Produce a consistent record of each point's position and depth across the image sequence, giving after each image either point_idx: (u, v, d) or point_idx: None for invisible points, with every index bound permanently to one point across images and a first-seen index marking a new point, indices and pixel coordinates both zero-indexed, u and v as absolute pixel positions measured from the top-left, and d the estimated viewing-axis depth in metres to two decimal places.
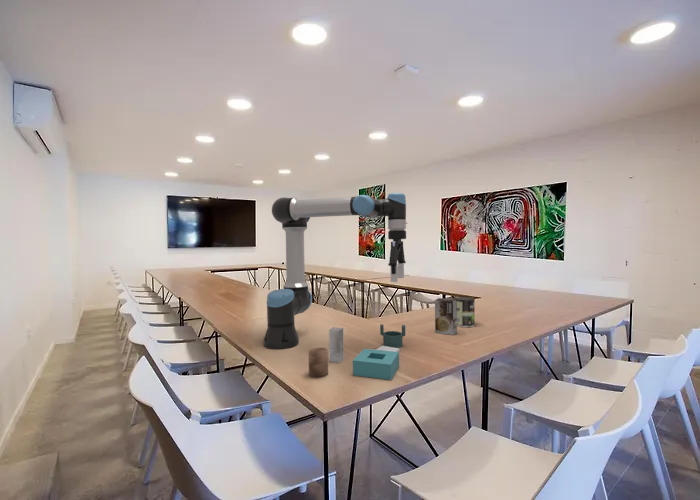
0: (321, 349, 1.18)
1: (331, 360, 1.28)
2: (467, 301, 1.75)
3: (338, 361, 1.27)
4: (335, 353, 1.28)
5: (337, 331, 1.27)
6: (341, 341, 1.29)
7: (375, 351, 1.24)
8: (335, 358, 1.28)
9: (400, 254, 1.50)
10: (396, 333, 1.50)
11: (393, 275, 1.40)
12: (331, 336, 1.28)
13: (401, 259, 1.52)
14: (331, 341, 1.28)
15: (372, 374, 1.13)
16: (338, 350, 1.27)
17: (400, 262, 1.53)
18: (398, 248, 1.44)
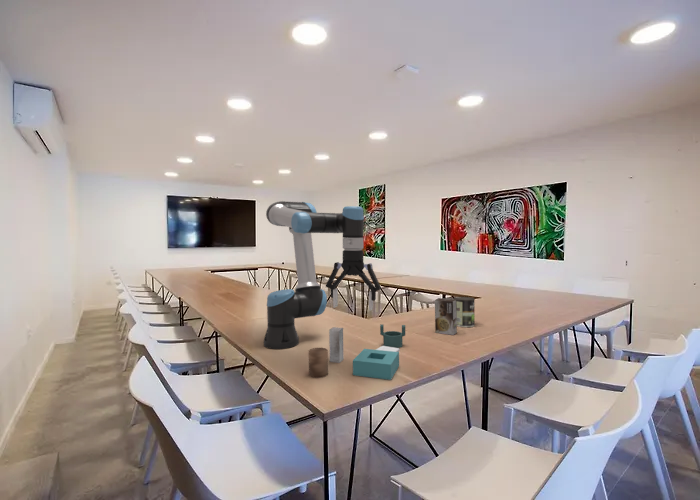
0: (321, 349, 1.18)
1: (331, 360, 1.28)
2: (467, 301, 1.75)
3: (338, 361, 1.27)
4: (335, 353, 1.28)
5: (337, 331, 1.27)
6: (341, 341, 1.29)
7: (375, 351, 1.24)
8: (335, 358, 1.28)
9: None
10: (396, 333, 1.50)
11: None
12: (331, 336, 1.28)
13: None
14: (331, 341, 1.28)
15: (372, 374, 1.13)
16: (338, 350, 1.27)
17: None
18: None
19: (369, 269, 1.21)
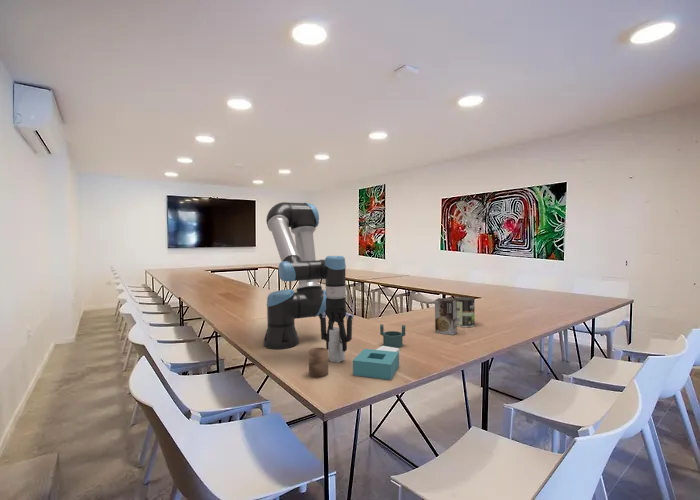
0: (321, 349, 1.18)
1: (331, 360, 1.28)
2: (467, 301, 1.75)
3: (338, 361, 1.27)
4: (335, 353, 1.28)
5: (337, 331, 1.27)
6: (341, 341, 1.29)
7: (375, 351, 1.24)
8: (335, 358, 1.28)
9: None
10: (396, 333, 1.50)
11: None
12: (331, 336, 1.28)
13: None
14: (331, 341, 1.28)
15: (372, 374, 1.13)
16: (338, 349, 1.27)
17: None
18: None
19: (348, 320, 1.26)
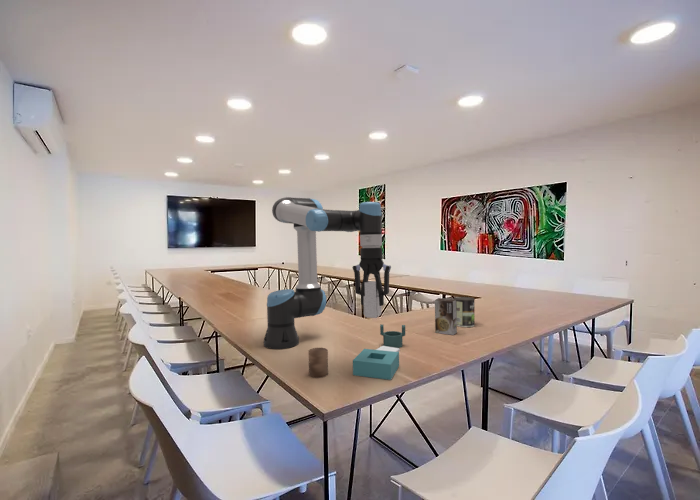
0: (321, 349, 1.18)
1: (367, 315, 1.18)
2: (467, 301, 1.75)
3: (375, 316, 1.17)
4: (371, 307, 1.17)
5: (373, 283, 1.17)
6: (377, 295, 1.19)
7: (375, 351, 1.24)
8: (372, 313, 1.17)
9: None
10: (396, 333, 1.50)
11: None
12: (367, 289, 1.18)
13: None
14: (366, 294, 1.18)
15: (372, 374, 1.13)
16: (375, 303, 1.17)
17: None
18: None
19: (386, 271, 1.16)
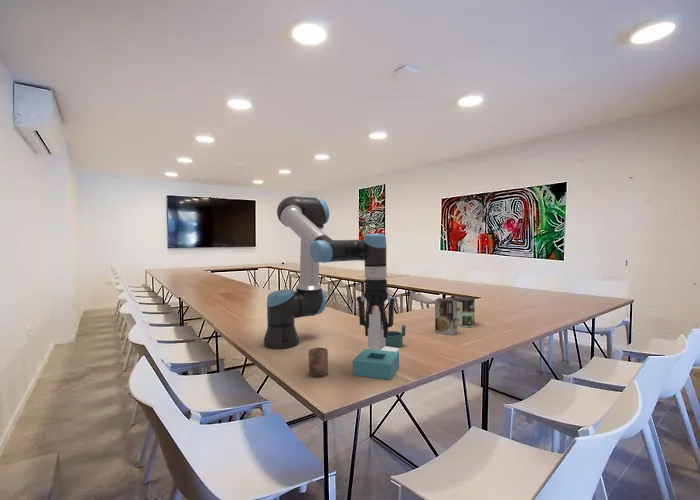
0: (321, 349, 1.18)
1: (371, 347, 1.18)
2: (467, 301, 1.75)
3: (379, 348, 1.17)
4: (376, 339, 1.17)
5: (378, 315, 1.16)
6: (382, 326, 1.18)
7: (375, 351, 1.24)
8: (376, 345, 1.17)
9: None
10: (396, 333, 1.50)
11: None
12: (371, 321, 1.17)
13: None
14: (371, 326, 1.17)
15: (372, 374, 1.13)
16: (380, 335, 1.16)
17: None
18: None
19: (391, 304, 1.16)
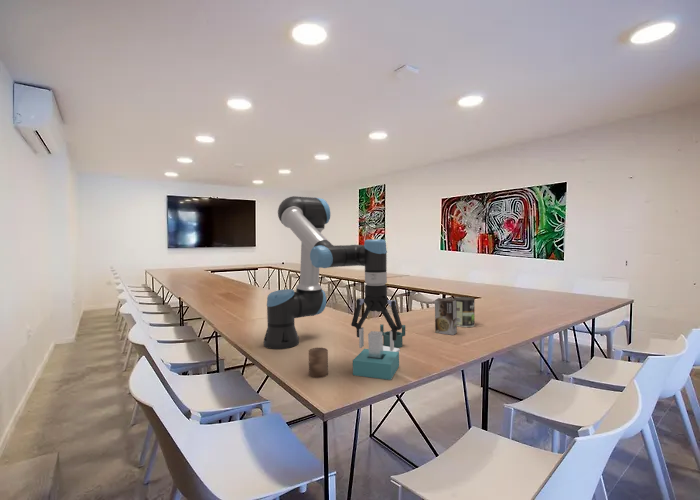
0: (321, 349, 1.18)
1: None
2: (467, 301, 1.75)
3: None
4: None
5: (377, 335, 1.17)
6: (381, 346, 1.19)
7: None
8: None
9: None
10: None
11: None
12: (370, 341, 1.18)
13: None
14: (370, 346, 1.18)
15: (372, 374, 1.13)
16: (379, 355, 1.17)
17: None
18: None
19: (393, 307, 1.15)
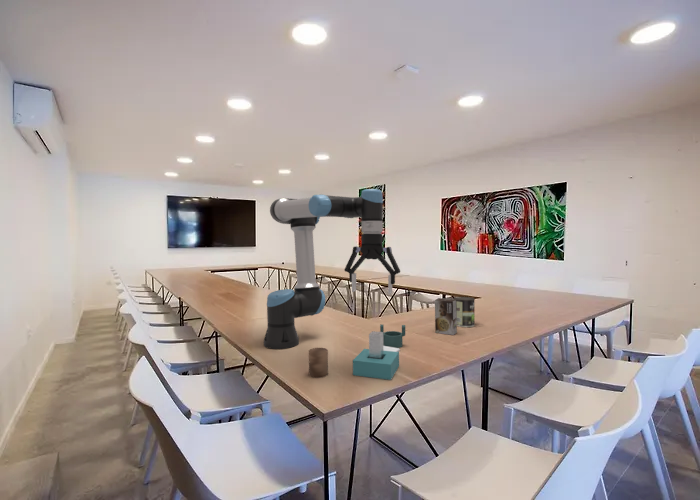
0: (321, 349, 1.18)
1: None
2: (467, 301, 1.75)
3: None
4: None
5: (378, 336, 1.17)
6: (382, 346, 1.19)
7: None
8: None
9: None
10: (396, 333, 1.50)
11: None
12: (371, 341, 1.18)
13: None
14: (371, 346, 1.18)
15: (372, 374, 1.13)
16: (379, 356, 1.17)
17: None
18: None
19: (388, 252, 1.20)
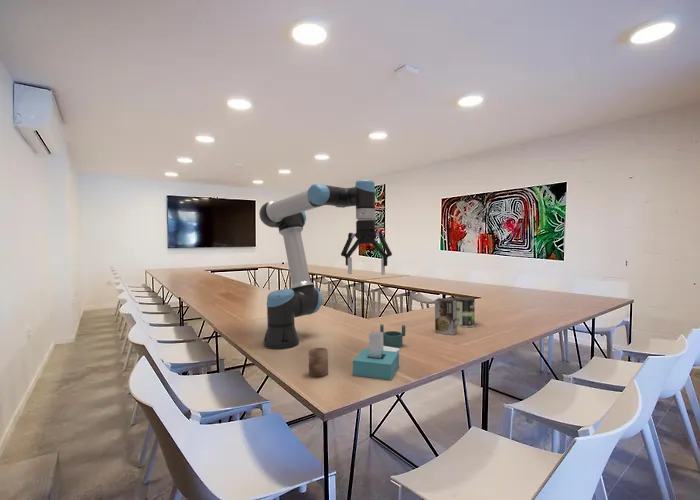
0: (321, 349, 1.18)
1: None
2: (467, 301, 1.75)
3: None
4: None
5: (378, 336, 1.17)
6: (382, 346, 1.19)
7: None
8: None
9: None
10: (396, 333, 1.50)
11: None
12: (371, 341, 1.18)
13: None
14: (371, 346, 1.18)
15: (372, 374, 1.13)
16: (379, 356, 1.17)
17: None
18: None
19: (381, 237, 1.32)
